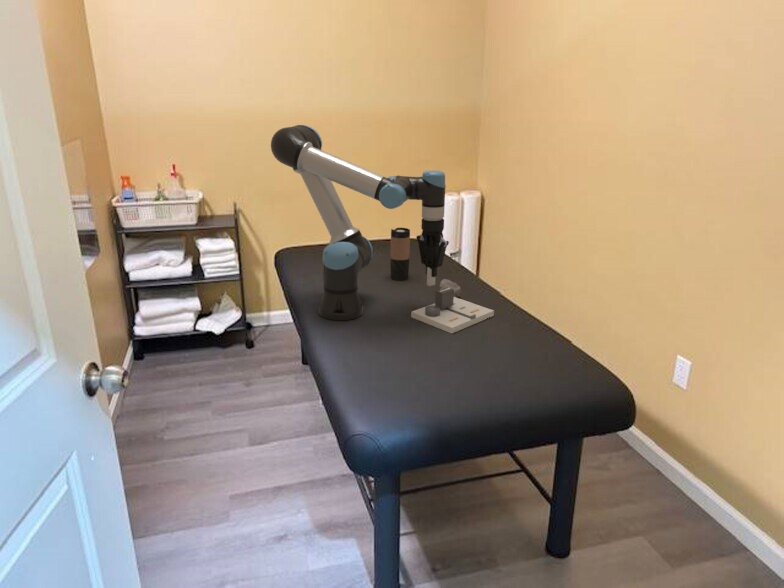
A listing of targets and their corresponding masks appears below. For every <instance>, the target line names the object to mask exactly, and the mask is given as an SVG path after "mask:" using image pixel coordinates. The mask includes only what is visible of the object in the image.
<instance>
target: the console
mask: <svg viewBox="0 0 784 588" xmlns="http://www.w3.org/2000/svg"><path fill="white" fill-rule="evenodd" d="M494 314H495V310H493V309H490V308H487V307H484V306H482V305H478V304H476V303H473V302H471V301H467V300H464V299H462V298H459V297H454V299H453V306H451V307H448V308H445V309H443V310H441V309H440V307H438V306H435V302H434V303H432V304H429V305H427V306H424V307H420V308H418V309H415V310H412V311H411V314H410V317H411V318H413V319H414V320H417V321H420V322H422V323H425V324H427V325H429V326H432V327H435V328H437V329H440V330H442V331H443V332H444V331H445V332H447V333H449V334H454V333H457V332H459V331H461V330H464V329H466V328H469V327H471V326H473V325H475V324H478V323H480V322H483V321H485V320H487V318H488V319H490V318H492V317H494ZM489 317H490V318H489Z"/></svg>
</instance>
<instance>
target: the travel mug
mask: <svg viewBox="0 0 784 588" xmlns="http://www.w3.org/2000/svg"><path fill="white" fill-rule="evenodd" d="M410 242H411V229H410V228H406V227H396V228H395V229H393V228H391V229H390V258H389V259H390V263H389V264H390V265H389V266H390V279H392V280H393V281H399V282H400V281H406V280H408V279H409V270H410V254H411V253H410V247H411V243H410Z"/></svg>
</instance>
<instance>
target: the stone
mask: <svg viewBox="0 0 784 588" xmlns="http://www.w3.org/2000/svg"><path fill="white" fill-rule="evenodd" d="M446 287H449V288H452V289H454V297H456V298H459V296H460V295H461V294H462V293H461V291H462V289H461V286H460V285H458V284H457V282H453V281H451V280H450V279H448V278H447V279H446V278H443V279H442V280H440V283H439V290H440V289H443V288H446Z"/></svg>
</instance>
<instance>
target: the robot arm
mask: <svg viewBox="0 0 784 588" xmlns="http://www.w3.org/2000/svg"><path fill="white" fill-rule="evenodd" d="M322 147H323V141H322V137H321V136H320V134H319V132H318V131H317V130H316V129H315V128H313V127H312V126H309V125H304V124H297V125H294V126H288V127H283V128H281V129H280V128H279V129H278V130H277V131H276V132H274V134H273V136H272V137H271V140H270V150H271V153H272V155H273V157H274V158H275V159H276V160H277V162H279V163H281V164H282V165H285V166H288V167H290V168H292V170H293V171H294V172H295V173H297V174H299V175H300V176H301V177H302V180H303V182H304V184H305V186H306V188H307V190H308V192H309V194H310V197H311V199H312V200H313V203H314V205H315V207H316V209H317V211H318V213H319V215H320V217H321V219H322V221H323V223H324V225H325V228H326V229H327V231H328V234H329V236H330V240H329V244H328V245H326V247H324V249H323V251H322V258H321V259H322V272H323V273H322V275H323V276H322V278H323V293H322V297H321V300H320V303H319V305H318V313H319V315H320V316H321V317H322V318H324V319H327V320H331V321H350V320H354V319H357V318H359V317H361V316H362V315H364V304H363V302H362V298H361V296H360V293H359V274H360V273H361V272H362V271H363V270H364V269H366V268H367V267H368V265H369V264H370V263H371V261H372V258H373V255H374V249H373V245H372V243H371V242H370V240H369V239H368V238H367V237H364V236H363V234H362V233H361V232H362V231H361V230H360V228H358V227H355V226H353V222H352V221H351V219H350V217H349V215H348V213H347V211H346V209H345V207H344V205H343V203H342V201H341V199H340V197H339V194H338V192H337V190H336V188H335V186H334V184H333V182H334V183H335V184H338V185H340V186H343V187H346V188H348V189H350V190H353V191H354V192H357V193H360V194H362V195H364V196H366V197H369V198H372V199H373V200H376V201H378V202H380V204H381V205H382V206H383V207H384V208H385V209H389V210H393V209H394V210H395V209H396V208H397V209H398V208H399V207H401V206H402V205H403V204H404V203H405V202H406V201H408V200H412V201H413V200H416V201H421V226H420V227H421V230H422V231H421V234H420V235H416V237H415V238H416V240H417V242H418V248H419V249H418V250H419V254H420V263H421V264H422V265H424V266H425V276H426V286H427V287H432V286H435V285H436V277H437V276H438V268H440V267H442V266H443V263H444V258H445V255H446V250H447V247H448V246H449V243H450V241H448V240H445V238H444V234H443V231H444V229H445V219H444V217H445V204H446V203H445V202H446V199H445V198H446V173H444V172H443V171H442V170H425V171H423V172H422V175H421V176H405V175H404V176H403V175H389V176H388V177H385V176H383V175H381V174H379V173H376V172H375V171H374V172H373V171H372V170H369V169H368V168H367V169H366V168H365V167H362V166H360V165H357V164H354V163H352V162H350V161H348V160H345V159H343V158H341V157H339V156H337V155H336V156H335V155H333V154H331V153H328V152H327V151H324V150H322Z"/></svg>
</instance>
